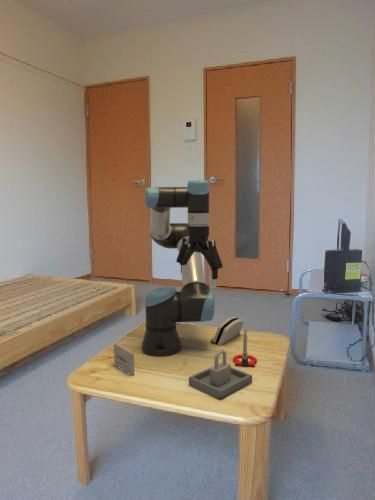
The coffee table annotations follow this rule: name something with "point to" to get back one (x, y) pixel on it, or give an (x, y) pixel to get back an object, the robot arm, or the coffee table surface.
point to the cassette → (124, 358)
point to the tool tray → (223, 390)
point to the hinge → (227, 330)
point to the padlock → (220, 370)
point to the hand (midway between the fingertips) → (198, 285)
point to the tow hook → (244, 355)
